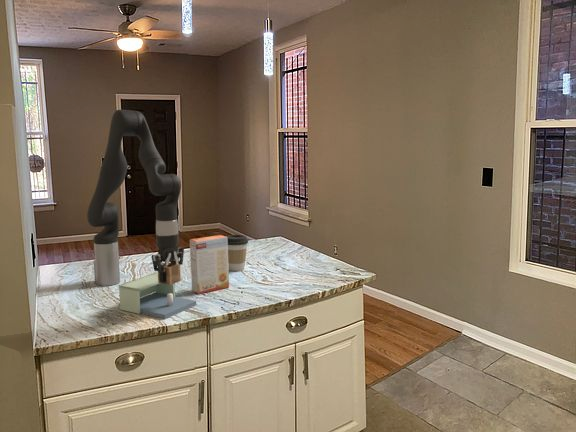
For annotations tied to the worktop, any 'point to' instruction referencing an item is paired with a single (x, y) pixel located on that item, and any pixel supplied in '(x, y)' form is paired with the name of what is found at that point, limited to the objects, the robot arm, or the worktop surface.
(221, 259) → the cracker box
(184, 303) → the base
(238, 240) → the coffee cup
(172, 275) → the wooden box
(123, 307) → the cover
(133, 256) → the worktop surface
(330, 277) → the worktop surface
